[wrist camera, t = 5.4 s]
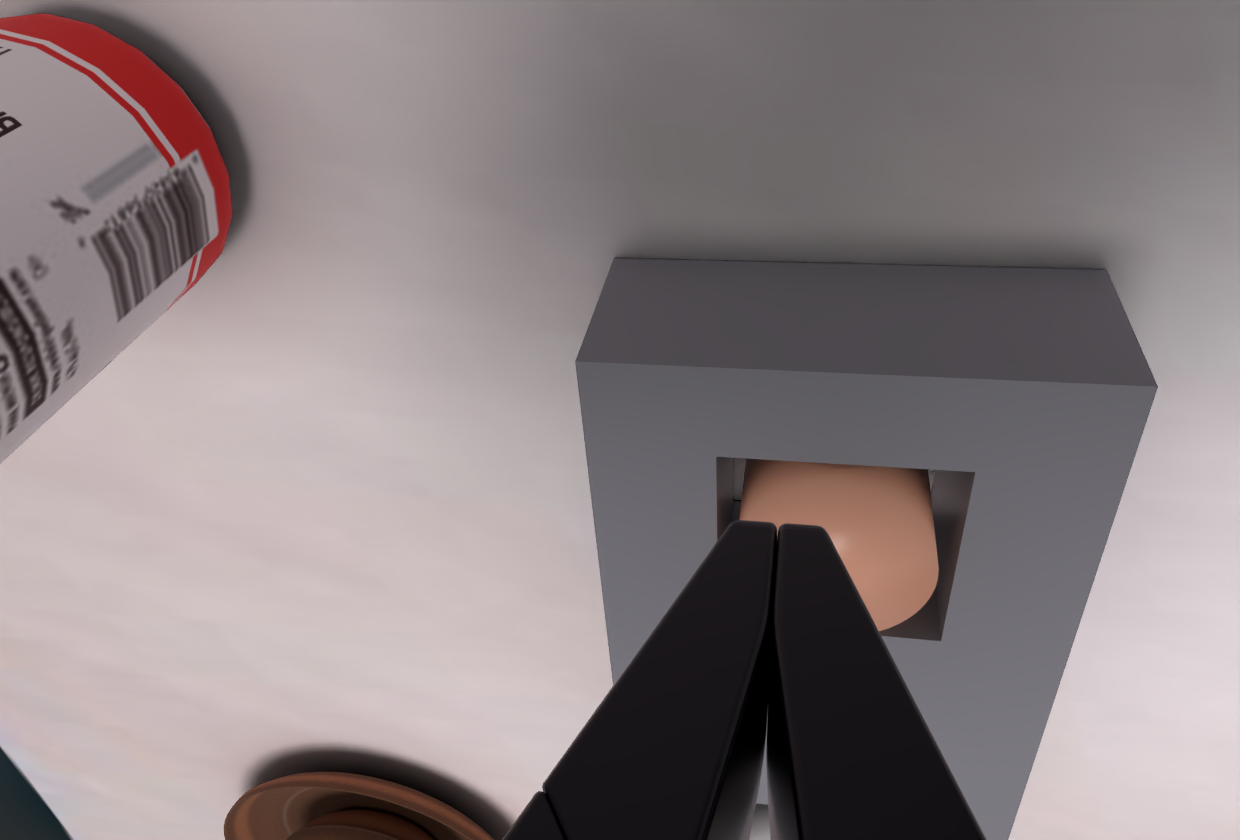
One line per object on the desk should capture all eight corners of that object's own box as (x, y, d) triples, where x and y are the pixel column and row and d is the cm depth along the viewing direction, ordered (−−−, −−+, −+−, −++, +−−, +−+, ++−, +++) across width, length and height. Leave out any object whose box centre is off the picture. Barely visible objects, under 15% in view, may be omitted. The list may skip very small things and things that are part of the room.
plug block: (1106, 269, 19) (1157, 386, 16) (956, 831, 32) (969, 957, 29) (614, 257, 21) (575, 361, 18) (657, 794, 34) (639, 908, 31)
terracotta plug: (937, 392, 21) (952, 503, 18) (915, 528, 23) (925, 644, 20) (748, 384, 21) (734, 489, 19) (746, 516, 24) (734, 627, 21)
